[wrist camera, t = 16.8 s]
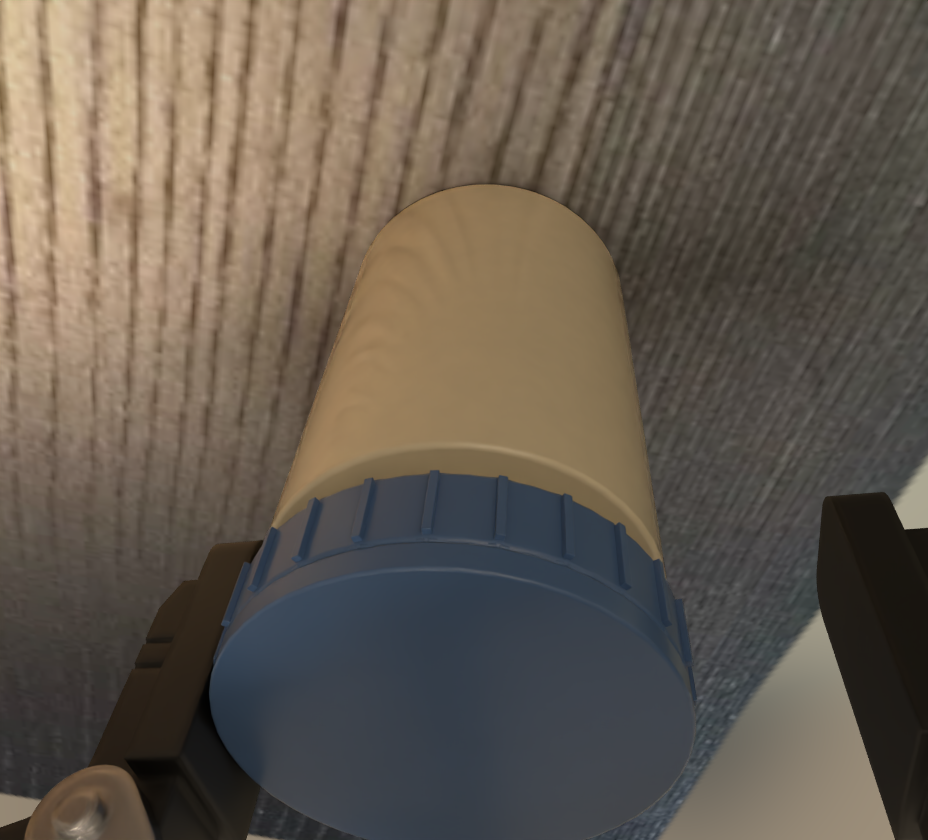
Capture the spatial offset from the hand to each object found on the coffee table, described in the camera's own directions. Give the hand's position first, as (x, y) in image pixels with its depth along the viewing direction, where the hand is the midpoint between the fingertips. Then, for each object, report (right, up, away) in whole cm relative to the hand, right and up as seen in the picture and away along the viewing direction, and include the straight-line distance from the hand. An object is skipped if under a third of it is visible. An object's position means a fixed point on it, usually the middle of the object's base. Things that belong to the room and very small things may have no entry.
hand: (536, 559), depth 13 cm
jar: (-1, +4, +6) cm, 7 cm away
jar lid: (-1, -1, -2) cm, 3 cm away
